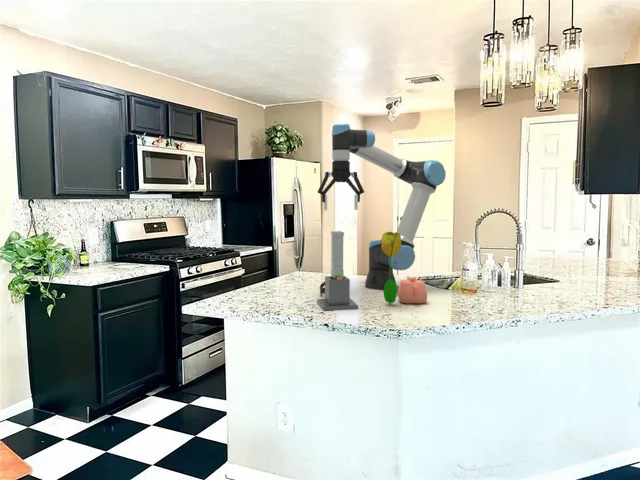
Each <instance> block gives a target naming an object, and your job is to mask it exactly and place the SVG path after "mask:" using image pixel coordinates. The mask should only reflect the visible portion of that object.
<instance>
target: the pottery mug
mask: <svg viewBox="0 0 640 480" xmlns="http://www.w3.org/2000/svg"><path fill="white" fill-rule="evenodd" d="M319 294H320V296H322V295H323V294H324V295H325V281H323V282H322V283H320V285H319Z"/></svg>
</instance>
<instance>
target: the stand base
mask: <svg viewBox="0 0 640 480" xmlns="http://www.w3.org/2000/svg"><path fill="white" fill-rule="evenodd" d="M324 282H325V286H324V287H325V293H324V298H317V299H316V303H317V304H318V306H319V307H320V308H321V309H322V311H341V310H342V311H343V310H358V309H359V305H358V304H357V303H356V302H355V301H354V300H353V299H351V298H350V288H351V287H350V285H351V283H350V282H351V280H350V278H348V277H347V276H345V275H344V276H343V279H342V277H336V279H331V275H330V276H324Z"/></svg>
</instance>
